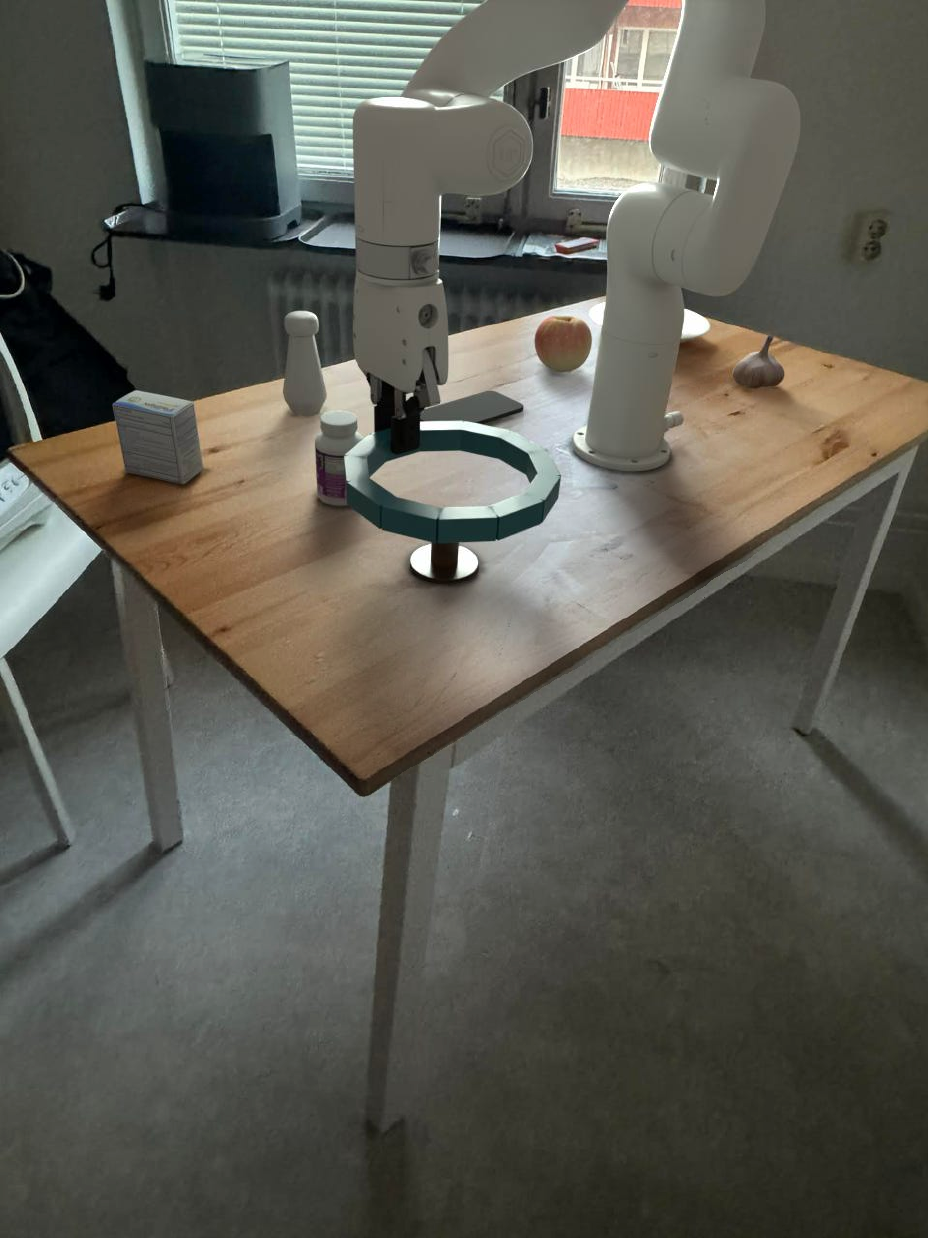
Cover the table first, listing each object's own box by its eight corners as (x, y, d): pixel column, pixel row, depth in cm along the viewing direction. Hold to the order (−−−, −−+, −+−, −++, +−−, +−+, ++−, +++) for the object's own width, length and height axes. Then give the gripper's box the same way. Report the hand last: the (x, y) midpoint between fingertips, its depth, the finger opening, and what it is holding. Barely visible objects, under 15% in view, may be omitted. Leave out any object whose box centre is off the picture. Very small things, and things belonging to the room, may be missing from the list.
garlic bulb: (785, 384, 139) (800, 333, 134) (772, 398, 133) (786, 346, 129) (738, 372, 142) (751, 322, 137) (723, 386, 136) (736, 334, 132)
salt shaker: (318, 421, 117) (314, 323, 109) (277, 415, 118) (270, 317, 110) (332, 405, 122) (330, 309, 114) (293, 399, 123) (287, 304, 115)
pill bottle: (318, 484, 103) (314, 406, 97) (364, 485, 103) (363, 407, 98) (316, 507, 99) (312, 426, 93) (364, 508, 99) (363, 427, 93)
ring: (466, 426, 97) (467, 406, 96) (598, 501, 85) (602, 479, 83) (305, 473, 86) (304, 451, 85) (430, 567, 74) (431, 543, 73)
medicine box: (204, 470, 104) (195, 400, 99) (183, 486, 101) (172, 415, 96) (147, 457, 106) (135, 388, 101) (124, 473, 103) (110, 402, 97)
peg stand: (449, 540, 95) (451, 507, 92) (492, 570, 90) (495, 536, 88) (396, 559, 91) (396, 525, 89) (437, 591, 87) (439, 557, 84)
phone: (409, 413, 119) (491, 388, 127) (409, 419, 119) (490, 394, 128) (445, 432, 115) (527, 406, 123) (445, 438, 115) (526, 411, 123)
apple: (551, 381, 134) (557, 328, 129) (521, 361, 140) (526, 310, 135) (598, 374, 137) (606, 323, 132) (567, 355, 143) (574, 305, 139)
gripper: (486, 274, 77) (474, 466, 88) (381, 233, 87) (382, 410, 97) (416, 286, 73) (413, 486, 84) (315, 242, 83) (324, 426, 94)
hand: (397, 444), depth 91 cm, fingers closed on ring, 2 cm apart
